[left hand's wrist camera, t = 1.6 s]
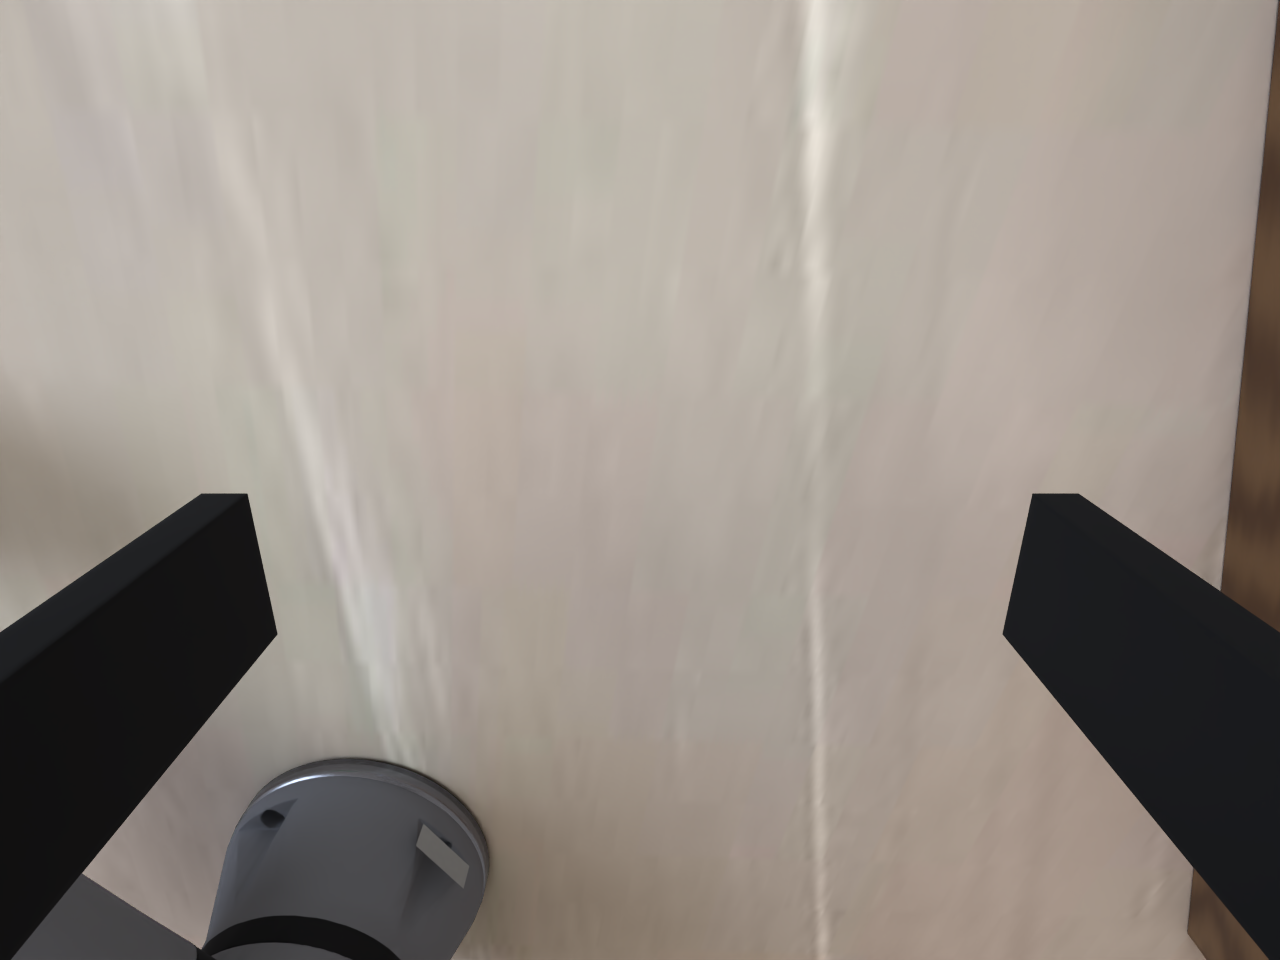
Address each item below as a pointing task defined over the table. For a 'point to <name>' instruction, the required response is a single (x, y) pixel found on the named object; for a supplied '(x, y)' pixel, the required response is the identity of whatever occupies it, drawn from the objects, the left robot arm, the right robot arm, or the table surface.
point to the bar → (1253, 488)
